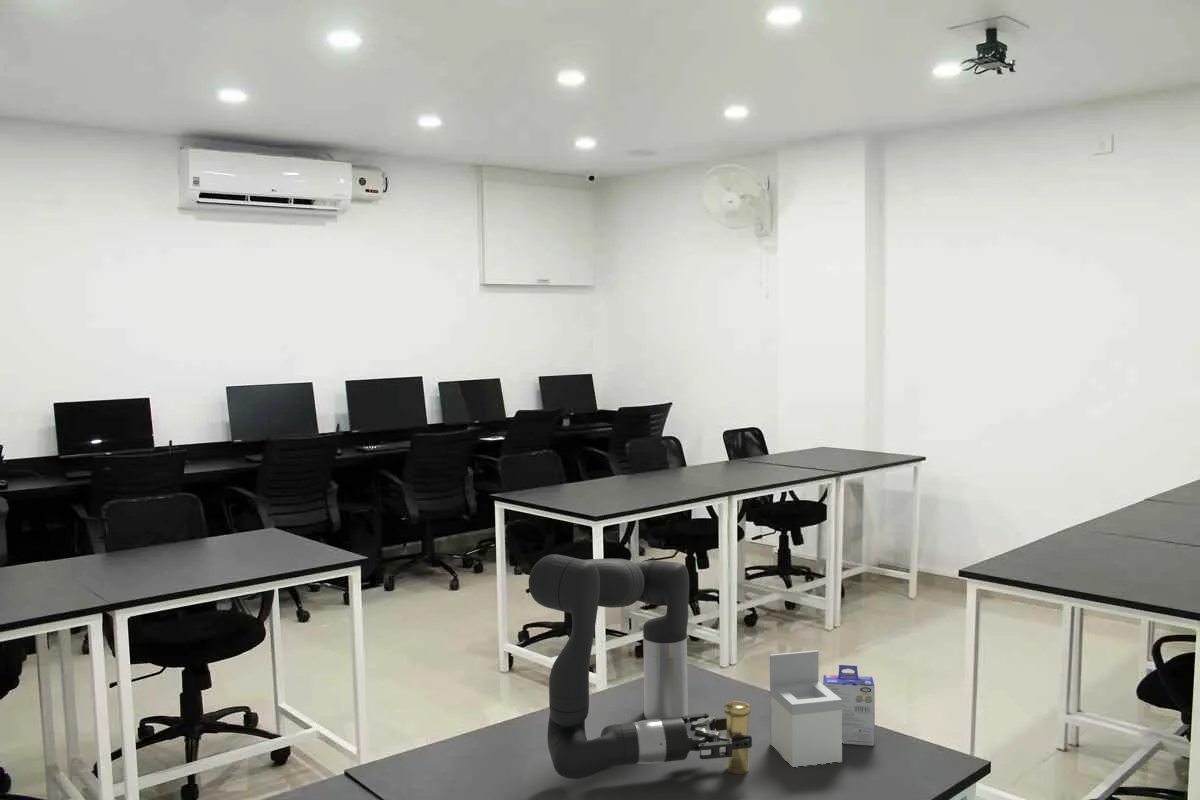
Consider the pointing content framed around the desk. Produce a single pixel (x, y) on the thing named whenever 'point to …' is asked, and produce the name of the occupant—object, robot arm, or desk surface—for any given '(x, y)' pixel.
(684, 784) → the desk surface
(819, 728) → the hinge block
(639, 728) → the robot arm
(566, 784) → the desk surface
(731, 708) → the hinge pin
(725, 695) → the desk surface
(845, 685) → the ink cartridge box
